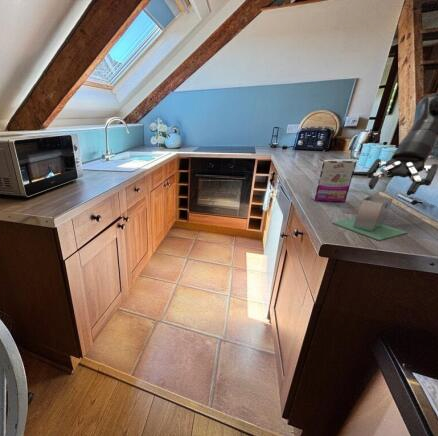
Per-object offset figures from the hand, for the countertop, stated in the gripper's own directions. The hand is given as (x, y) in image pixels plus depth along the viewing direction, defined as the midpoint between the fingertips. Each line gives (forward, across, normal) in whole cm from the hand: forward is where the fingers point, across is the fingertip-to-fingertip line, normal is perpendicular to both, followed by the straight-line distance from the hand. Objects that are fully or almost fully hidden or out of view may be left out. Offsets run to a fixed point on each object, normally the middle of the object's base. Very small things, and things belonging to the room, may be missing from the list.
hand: (388, 190), depth 73 cm
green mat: (+12, 0, -4) cm, 12 cm away
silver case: (+11, +1, -4) cm, 12 cm away
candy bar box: (-2, +20, -18) cm, 27 cm away
